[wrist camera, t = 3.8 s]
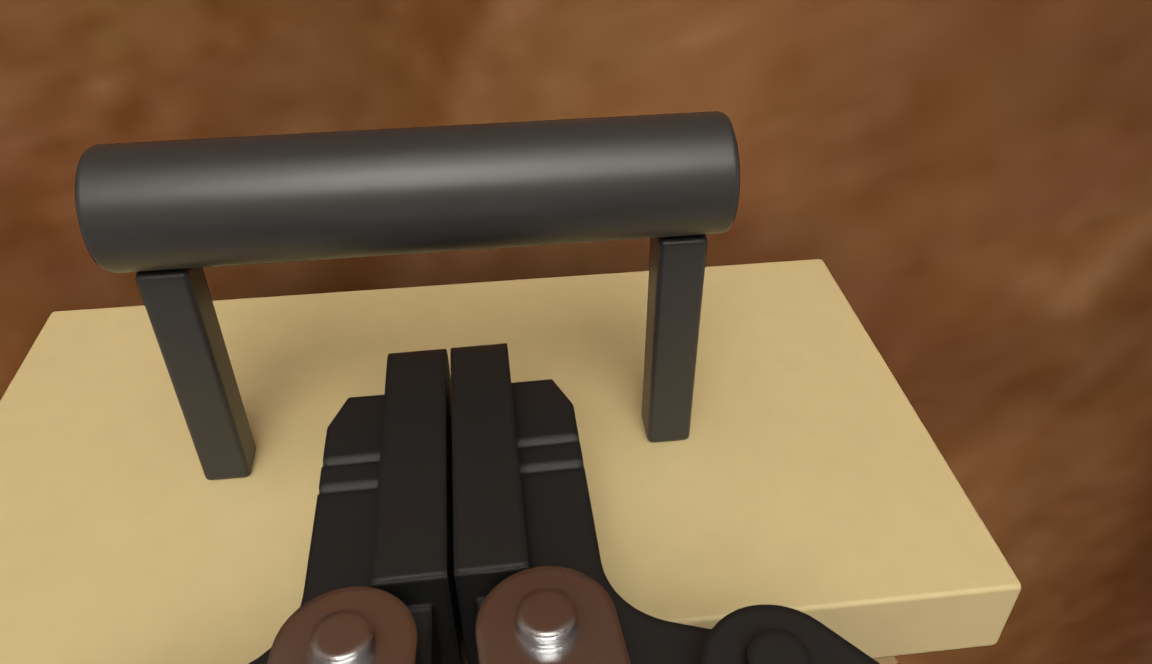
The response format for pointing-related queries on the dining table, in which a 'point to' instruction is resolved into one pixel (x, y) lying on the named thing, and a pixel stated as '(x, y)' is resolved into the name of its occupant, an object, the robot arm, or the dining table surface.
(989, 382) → the dining table surface
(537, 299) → the drawer
